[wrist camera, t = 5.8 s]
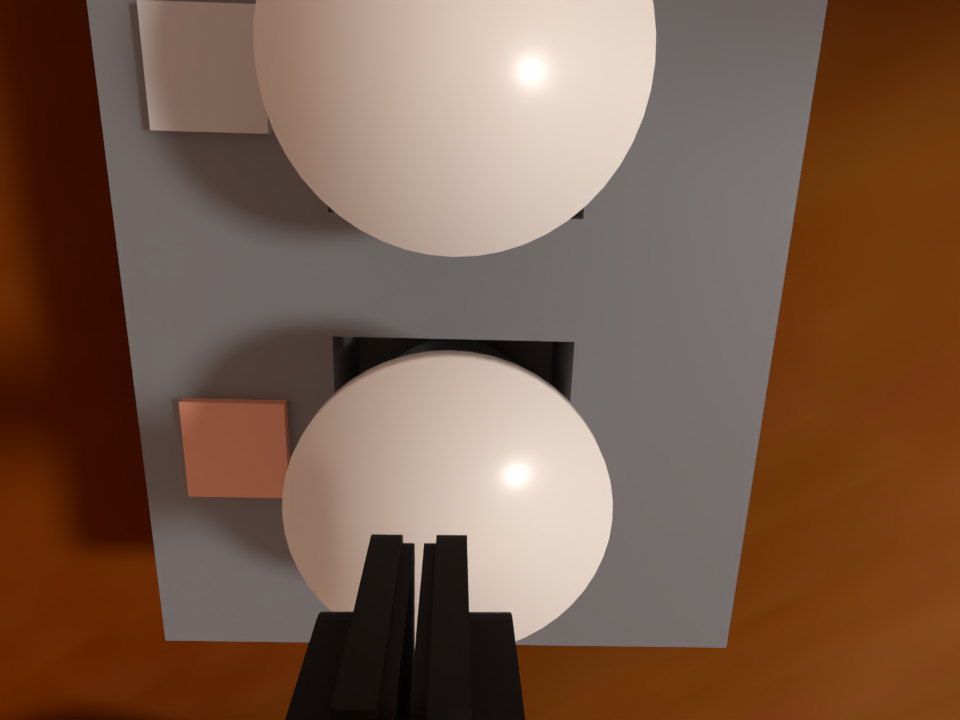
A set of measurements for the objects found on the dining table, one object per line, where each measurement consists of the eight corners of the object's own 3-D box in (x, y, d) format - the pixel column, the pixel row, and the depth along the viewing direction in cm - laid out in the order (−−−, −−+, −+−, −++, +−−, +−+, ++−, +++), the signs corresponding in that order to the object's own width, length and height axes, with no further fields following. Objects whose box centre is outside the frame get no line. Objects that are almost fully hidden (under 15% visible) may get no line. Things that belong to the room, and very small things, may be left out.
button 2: (583, 305, 19) (626, 362, 13) (566, 531, 21) (599, 656, 15) (327, 299, 18) (272, 354, 13) (336, 527, 20) (290, 652, 15)
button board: (816, -579, 16) (982, -929, 11) (675, 551, 24) (730, 655, 19) (122, -618, 15) (-48, -999, 10) (226, 544, 24) (160, 647, 19)
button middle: (610, -66, 16) (677, -174, 11) (588, 232, 18) (636, 262, 13) (313, -77, 16) (238, -192, 11) (324, 225, 18) (266, 251, 13)
